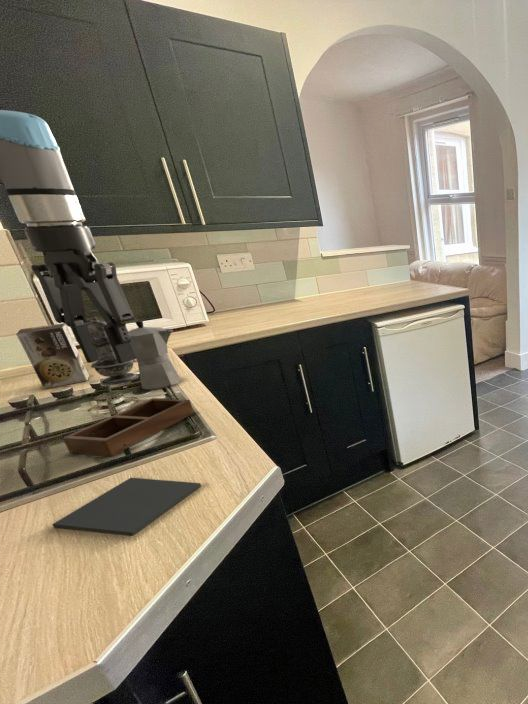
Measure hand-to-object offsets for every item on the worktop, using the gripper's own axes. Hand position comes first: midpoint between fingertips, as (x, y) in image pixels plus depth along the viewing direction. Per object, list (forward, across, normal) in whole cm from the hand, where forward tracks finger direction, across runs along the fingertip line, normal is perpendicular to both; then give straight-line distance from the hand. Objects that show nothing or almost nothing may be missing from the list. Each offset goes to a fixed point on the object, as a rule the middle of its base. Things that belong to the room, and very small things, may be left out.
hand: (112, 360), depth 76 cm
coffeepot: (+19, +32, -32) cm, 49 cm away
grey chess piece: (+4, 0, 0) cm, 4 cm away
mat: (+19, -14, +16) cm, 28 cm away
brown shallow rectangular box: (+19, +10, -7) cm, 23 cm away
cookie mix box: (+19, +61, -32) cm, 71 cm away
